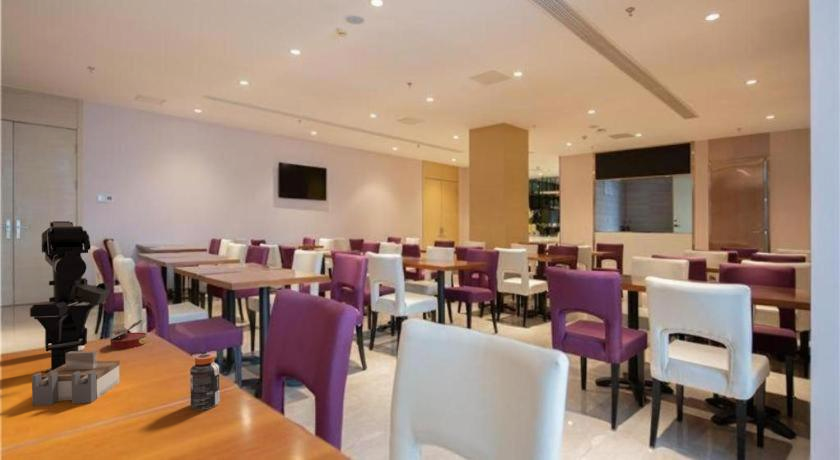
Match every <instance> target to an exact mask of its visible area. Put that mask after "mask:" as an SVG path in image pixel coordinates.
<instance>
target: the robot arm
mask: <svg viewBox="0 0 840 460" xmlns="http://www.w3.org/2000/svg"><path fill="white" fill-rule="evenodd" d="M40 242H41V253H42V254H43V253H44V261H46V263H48V264H49V266H50V267H51V268H52V280H49V281H48V286H53V287H52V288H53V296H51V297H48V298H49V299H48V300H49V301H42V302H38V303H35V304H33V305H32V306H30V308H29V317H30V318H33V319H34V320H36V321H38V322H39V324H40V325H41V327H42V328H44V331H45V332H44V348H45V352H50V354H51V355H50V364H51V365H50V368H48V369H46V370H45V371H44V372H45V374H47V373H48V372H50V371H52V370H54V369H56V368H58V367H60V366H62V365H64V364H66V353H68V352H73V351H78V346H84V345H86V344H88V328H85V324H86V325H87V321H88V317H89V316H90V315H89V314H90V312H91V311H92V310H93V309H94V308H96V306H98V305H100V304H103V303H105V302H106V299H107V297H109V296H111V290H110V286H109V285H110V284H108V283H105V282H100V283H98V284H97V285H95V284H94V285H92V284H89V283H88V279H87V277H85V278H84V277H83V276H84V275H85V273H86V271H87V264H86V262H85V260H84V259H83V257H82V256H81V255H82V254H89V250H91V241H90V235H89V233H88V231H87V230H84V228H83V226H81V225H76V226H75V225H74V222H72V221H69V220H68V221H67V220H66V221H65V220H64V221H55V220H54V221H50V222H49V227H48V228H47V229H46V230H45V231H43V232H42V233H41V241H40Z"/></svg>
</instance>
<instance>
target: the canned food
mask: <svg viewBox="0 0 840 460" xmlns="http://www.w3.org/2000/svg"><path fill="white" fill-rule="evenodd" d="M142 322H143V320H142V319H140V320H138V321H137V322H134V323H133V324H131V326H130V327H129V328H128V329H127V330H124V331H123V332H121V333H119V334H116V335H114V336H111V337H110V339H109V340H110V349H112V350H119V351H120V350H129V349H130V348H131V349H135V348H134V347H136V348H139V346H140V347H143V346H144V344H145V343H146V344H147V334H146V333H145V332H127V331H129V330H131V329H133V328H134V327H137V326H138V325H140V324H141V323H142ZM119 337H120V338H119ZM146 344H145V345H146ZM142 345H143V346H142Z"/></svg>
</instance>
